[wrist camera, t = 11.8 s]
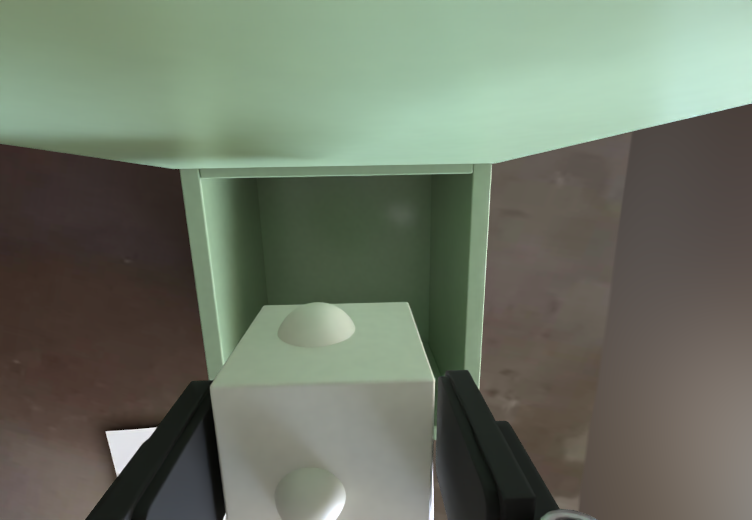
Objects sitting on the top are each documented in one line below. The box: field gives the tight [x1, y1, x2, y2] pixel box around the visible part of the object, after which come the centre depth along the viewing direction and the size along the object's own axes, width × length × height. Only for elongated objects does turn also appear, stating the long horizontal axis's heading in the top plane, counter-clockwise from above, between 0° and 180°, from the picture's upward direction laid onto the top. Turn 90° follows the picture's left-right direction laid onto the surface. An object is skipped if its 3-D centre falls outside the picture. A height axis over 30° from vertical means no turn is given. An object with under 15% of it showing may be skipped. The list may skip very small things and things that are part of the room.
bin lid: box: [0, 0, 752, 169], centre depth 8 cm, size 14×13×1 cm
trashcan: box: [179, 163, 492, 440], centre depth 22 cm, size 14×13×10 cm
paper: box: [105, 427, 434, 520], centre depth 31 cm, size 25×17×1 cm
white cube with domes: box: [210, 302, 435, 520], centre depth 10 cm, size 6×5×5 cm
